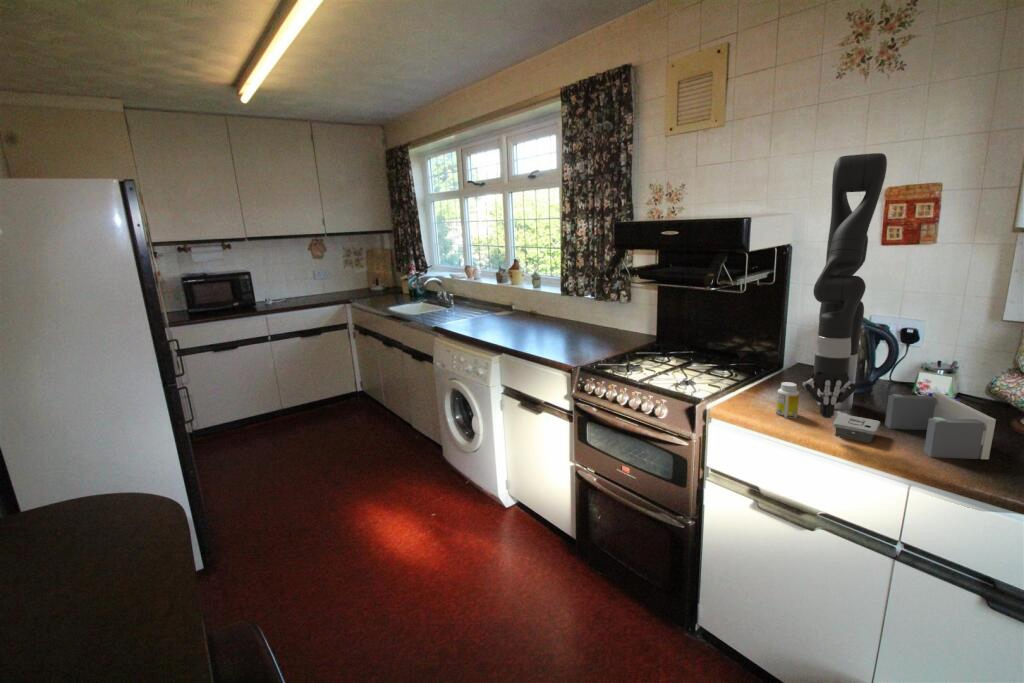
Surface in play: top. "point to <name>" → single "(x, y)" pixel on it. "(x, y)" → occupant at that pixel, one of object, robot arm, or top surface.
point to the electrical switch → (856, 427)
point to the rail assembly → (943, 425)
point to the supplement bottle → (787, 400)
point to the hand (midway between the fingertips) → (826, 416)
